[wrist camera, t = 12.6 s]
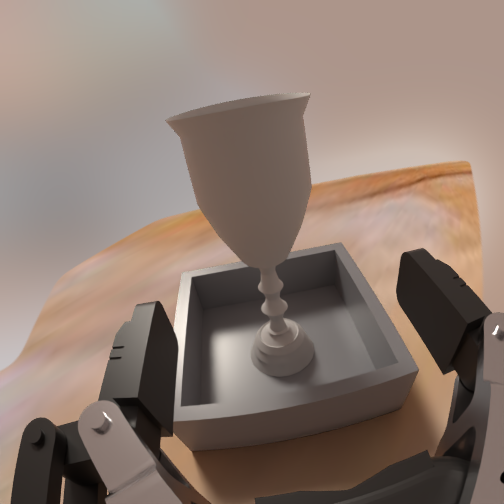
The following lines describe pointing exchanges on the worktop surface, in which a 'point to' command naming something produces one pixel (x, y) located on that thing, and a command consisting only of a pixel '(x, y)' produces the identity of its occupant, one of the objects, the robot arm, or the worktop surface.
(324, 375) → the box
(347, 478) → the worktop surface
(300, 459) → the worktop surface
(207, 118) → the chalice
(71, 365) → the worktop surface
